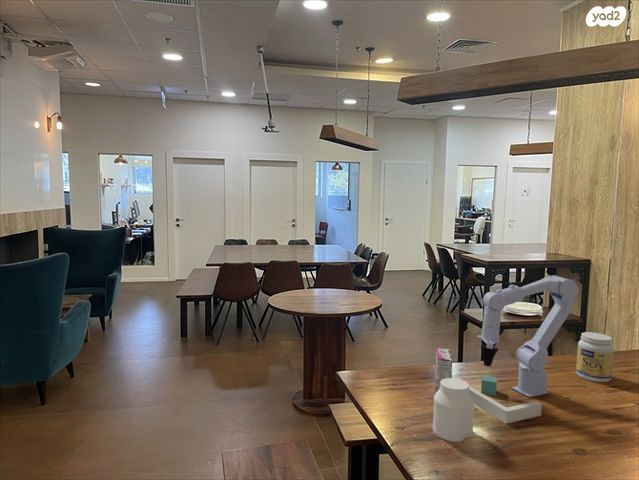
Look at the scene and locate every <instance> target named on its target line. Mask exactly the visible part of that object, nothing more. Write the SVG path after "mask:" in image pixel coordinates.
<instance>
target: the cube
mask: <svg viewBox="0 0 639 480" xmlns="http://www.w3.org/2000/svg"><path fill="white" fill-rule="evenodd" d="M497 383H498V377H496V376H491V375H490V376H489V375H482V376H481V389H480V390H481V391H480V393H482V394H484V395H489V396H495V397H496V396H497Z"/></svg>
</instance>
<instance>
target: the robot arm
mask: <svg viewBox="0 0 639 480" xmlns="http://www.w3.org/2000/svg"><path fill="white" fill-rule="evenodd" d="M543 292H548V293H549V294H550V295H551V297H552V299H553V301H554V302H553V303H554V304H553V306H552V307H551V309H550V311H549V312H548V314H547V316H546V317H545V319H544V320H543V322H542V323H541V325H540V327H539V328H538V330H537V331H536V332H535V334H534V336H533V337H532V339H530V340H527V341H525V342H524V343H523V345H522V346H520V347H519V348H518V349H517V350H516V353H515V358H516V360H517V361H518V378H517V385H516V386H512V389H513V390H514V391H517V392H518V393H520V394H523V395H524V396H526V397H528V398H533V397H537V396H543V395H546V394H547V395H548V394H549V392H548V391H547V386H548V385H547V384H548V373H547V370H546V369H545V366H546V364H547V363H546V362H547V358H548V357H549V353H548V350H547V349H548V347H549V346H550V344H551V342H552V341H553V339H555V337H556V334H558V332H559V330H560V329H561V327H562V326H563V324H564V322H565V321H566V320H567V318H568V316H569V315H570V313H571V312H572V310H573V309H574V305H575V300H576V297H577V295H578V293H579V288H578V285H577V283H576V282H575V281H574V280H573V279H569V278H564V277H563V276H562V277H560V276H558V275H555V274H554V275H550V276H545V277H543V278H542V279H540V280H536V281H534V282H531V283H528V284H526V285H523V286H521V287H520V286H518V285H513V284H510V285H508V287H507V288H503V289H496V291H495V292H494V291H489V292H486V293H485V294H484V295H483V298H481V301H482V304H483V306H484V309H483V318H482V327H481V334H478V335H477V339H480V341H481V345H480V348H481V351H482V354H483V355H482V356H483V365H484V367H491V366H492V363H493V360H494V357H495V356H496V354H497V353H498V351H499V348H497V347H496V345H497V344H498V342H499V341H500V338H499V337H500V326H501V317H502V310H504V309H505V307H506V306H509V305H512V304H515V303H516V304H517V303H519V302H521V301H523V300H524V297H526V296H531V295H534V294H539V293H543Z"/></svg>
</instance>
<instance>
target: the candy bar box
mask: <svg viewBox="0 0 639 480" xmlns="http://www.w3.org/2000/svg"><path fill="white" fill-rule="evenodd" d="M452 358H453V357H452V354H451V351H450V349H449V348H440V347H437V348H435V363H434V364H435V368H434V369H435V371H434V376H435V377H434V395H435V394H436V392H437V391H438V390H439V389H440V381H441V380H442V379H446V378H453V377H452V374H453V371H452V370H453V359H452Z"/></svg>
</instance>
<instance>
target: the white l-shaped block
mask: <svg viewBox="0 0 639 480" xmlns="http://www.w3.org/2000/svg"><path fill="white" fill-rule="evenodd" d="M469 394H470V395H471V397H472V399H473V400H474V406H476V407H478V408H480V409H482V411H485V412H486V413H487V414H490V415H491V416H493V417H494V418H496V419H497V420H499V421H501V422H502V423H504V424H506V425H507V424H511V423H515V422H519V421H524V420H528V419H533V418H536V417H541V416H542V409H543V403H541V402H540V401H538V400H535V401H531V402H527V403H522V404H517V405H513V406H508V407H507V406H505V405H503V404H501V403H500V402H497V401H496V400H494V399H493V398H491V397H489V396H487V394H482V393H481V391H478V390H477V389H475V388H473V387H472V386H470V385H469Z"/></svg>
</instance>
